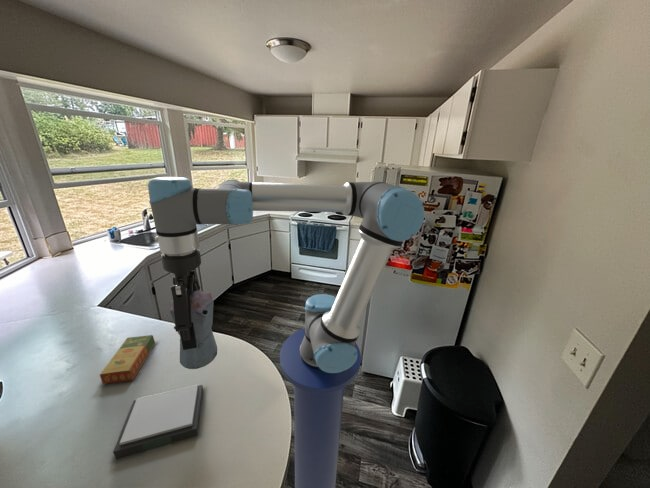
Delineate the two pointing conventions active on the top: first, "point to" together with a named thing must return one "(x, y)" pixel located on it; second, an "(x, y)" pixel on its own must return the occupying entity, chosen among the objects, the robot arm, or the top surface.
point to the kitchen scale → (160, 420)
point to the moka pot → (199, 332)
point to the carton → (127, 359)
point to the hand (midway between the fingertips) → (193, 332)
